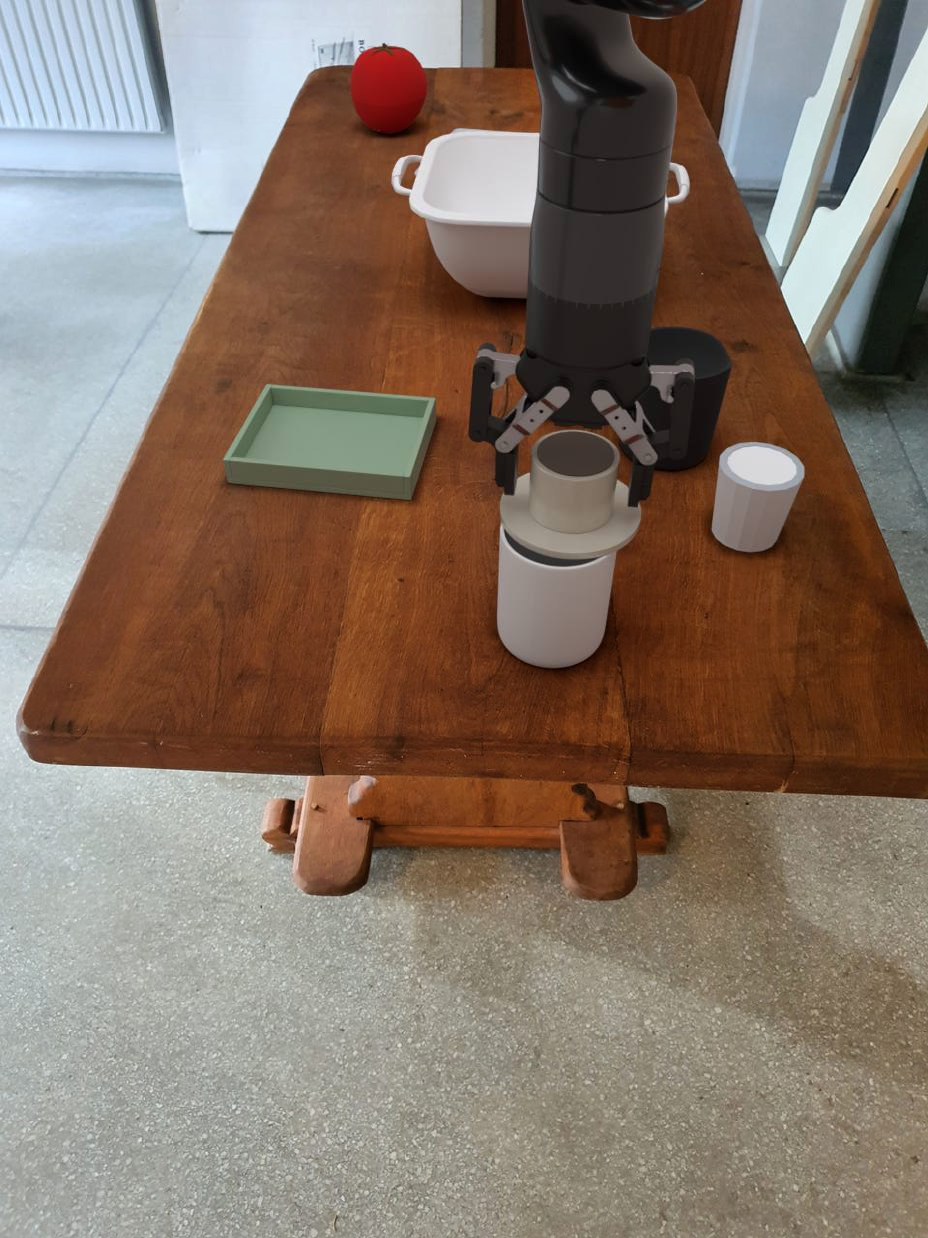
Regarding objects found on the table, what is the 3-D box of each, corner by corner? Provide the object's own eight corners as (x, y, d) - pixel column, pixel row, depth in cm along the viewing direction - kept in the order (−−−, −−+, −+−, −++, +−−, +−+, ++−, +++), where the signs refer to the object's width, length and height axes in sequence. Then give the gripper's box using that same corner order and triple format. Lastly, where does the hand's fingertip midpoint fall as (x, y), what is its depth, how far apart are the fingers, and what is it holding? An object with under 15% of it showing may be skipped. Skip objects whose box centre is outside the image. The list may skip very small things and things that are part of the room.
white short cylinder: (791, 519, 83) (812, 452, 78) (775, 565, 79) (796, 498, 74) (714, 499, 85) (730, 432, 80) (695, 543, 81) (710, 476, 76)
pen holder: (730, 442, 91) (752, 348, 84) (680, 487, 86) (699, 391, 79) (647, 408, 96) (662, 316, 89) (595, 449, 91) (606, 354, 84)
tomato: (348, 140, 153) (341, 52, 144) (359, 117, 161) (352, 32, 152) (424, 142, 152) (422, 53, 143) (431, 118, 160) (429, 33, 152)
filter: (490, 551, 64) (492, 490, 61) (508, 467, 71) (510, 406, 68) (638, 566, 63) (649, 504, 60) (641, 479, 70) (651, 418, 67)
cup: (478, 649, 72) (480, 547, 65) (539, 556, 79) (547, 456, 72) (581, 685, 69) (594, 583, 62) (633, 585, 77) (650, 484, 70)
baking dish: (665, 233, 126) (680, 131, 118) (681, 336, 106) (701, 223, 97) (412, 225, 129) (408, 124, 120) (381, 324, 108) (374, 212, 99)
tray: (227, 483, 87) (222, 459, 85) (270, 406, 96) (266, 383, 94) (411, 500, 85) (409, 476, 83) (436, 420, 94) (435, 397, 92)
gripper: (461, 289, 53) (462, 518, 64) (721, 307, 51) (675, 538, 63) (480, 235, 58) (478, 455, 69) (716, 249, 56) (674, 472, 68)
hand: (571, 494), depth 66 cm, fingers open, 8 cm apart
